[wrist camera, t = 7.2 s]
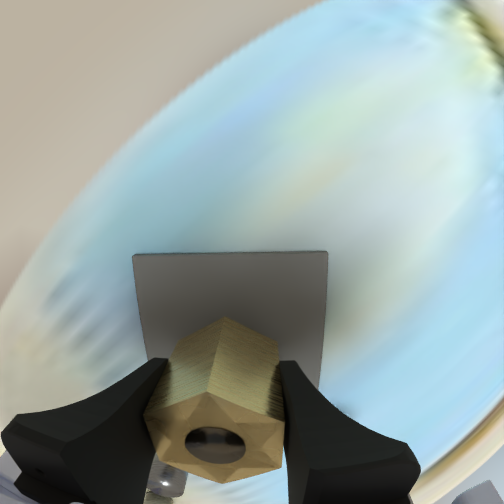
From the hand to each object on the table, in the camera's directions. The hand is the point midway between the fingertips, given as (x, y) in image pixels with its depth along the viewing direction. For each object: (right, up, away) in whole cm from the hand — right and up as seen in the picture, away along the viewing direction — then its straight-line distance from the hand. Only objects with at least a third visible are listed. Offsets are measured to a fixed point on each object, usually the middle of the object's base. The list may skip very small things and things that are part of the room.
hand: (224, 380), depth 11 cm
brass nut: (0, 0, +2) cm, 2 cm away
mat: (0, +1, +3) cm, 3 cm away
